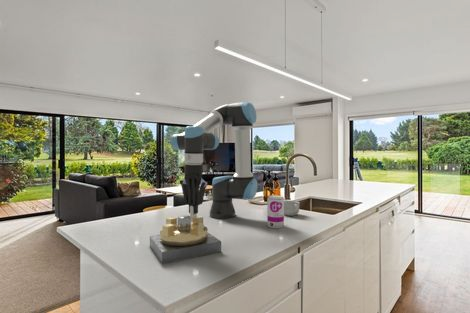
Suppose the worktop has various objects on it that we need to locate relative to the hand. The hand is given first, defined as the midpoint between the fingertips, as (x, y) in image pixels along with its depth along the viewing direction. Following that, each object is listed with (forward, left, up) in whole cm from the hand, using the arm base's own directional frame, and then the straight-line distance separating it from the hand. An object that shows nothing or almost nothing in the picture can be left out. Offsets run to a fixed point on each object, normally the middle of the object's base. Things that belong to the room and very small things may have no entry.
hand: (193, 221), depth 111 cm
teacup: (-17, +66, -9) cm, 69 cm away
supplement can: (-3, +44, -9) cm, 45 cm away
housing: (+5, -6, -9) cm, 12 cm away
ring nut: (+5, -6, -5) cm, 9 cm away
